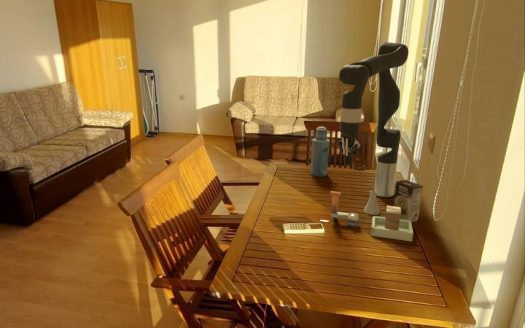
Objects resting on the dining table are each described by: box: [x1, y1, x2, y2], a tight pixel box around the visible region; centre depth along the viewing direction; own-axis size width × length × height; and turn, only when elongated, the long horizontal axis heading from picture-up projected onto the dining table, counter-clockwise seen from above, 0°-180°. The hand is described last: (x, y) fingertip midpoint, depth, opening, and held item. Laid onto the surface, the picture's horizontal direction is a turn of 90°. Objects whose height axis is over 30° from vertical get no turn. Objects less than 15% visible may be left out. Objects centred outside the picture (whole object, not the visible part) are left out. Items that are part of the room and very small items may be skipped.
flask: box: [363, 190, 381, 216], centre depth 163 cm, size 7×7×10 cm
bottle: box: [310, 126, 330, 178], centre depth 208 cm, size 10×10×30 cm
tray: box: [370, 215, 414, 242], centre depth 145 cm, size 12×15×3 cm
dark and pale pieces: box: [319, 210, 360, 229], centre depth 152 cm, size 6×16×5 cm, turn 72°
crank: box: [330, 190, 360, 223], centre depth 150 cm, size 12×4×11 cm, turn 71°
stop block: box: [385, 205, 401, 230], centre depth 144 cm, size 5×5×9 cm
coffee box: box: [393, 179, 424, 223], centre depth 156 cm, size 9×6×16 cm
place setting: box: [352, 157, 365, 171], centre depth 226 cm, size 18×20×6 cm
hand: (347, 164), depth 141 cm, fingers closed
